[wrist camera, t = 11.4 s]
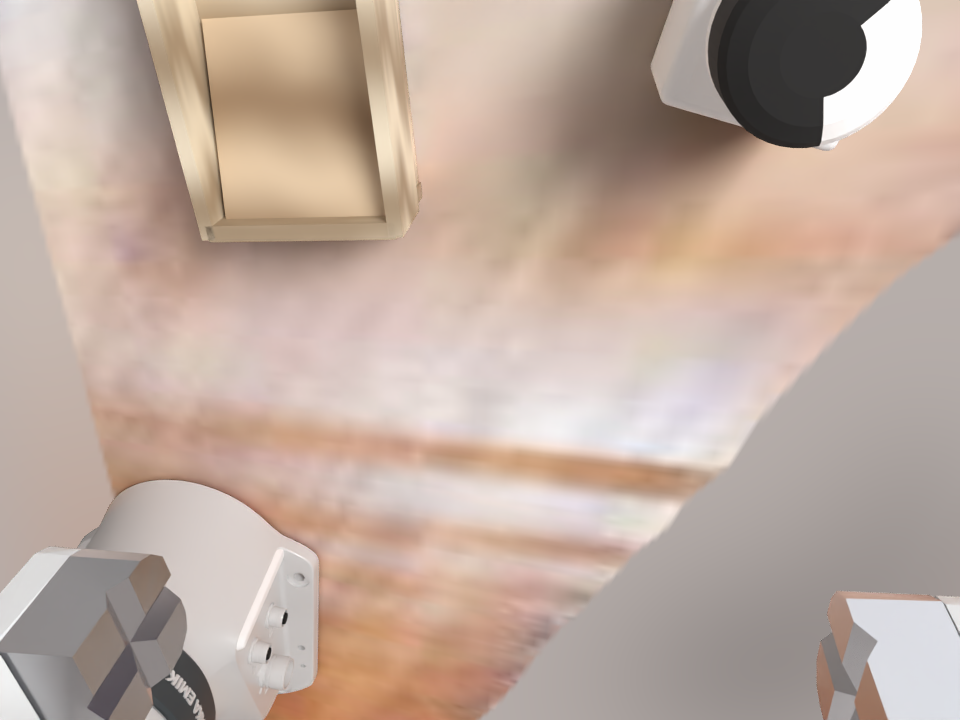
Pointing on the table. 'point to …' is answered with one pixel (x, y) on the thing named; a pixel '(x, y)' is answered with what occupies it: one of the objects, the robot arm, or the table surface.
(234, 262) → the table surface
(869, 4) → the medicine bottle
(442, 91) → the table surface
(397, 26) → the tan wooden tray
